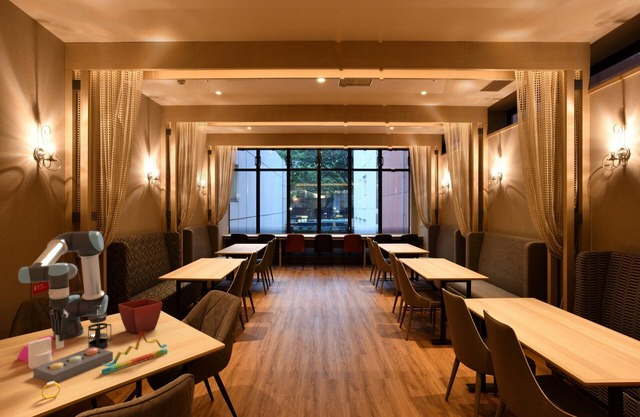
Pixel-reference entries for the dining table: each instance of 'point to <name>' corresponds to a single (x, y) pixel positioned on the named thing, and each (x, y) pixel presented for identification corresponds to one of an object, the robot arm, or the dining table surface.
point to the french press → (98, 331)
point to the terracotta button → (91, 351)
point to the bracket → (24, 351)
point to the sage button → (74, 359)
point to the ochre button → (56, 366)
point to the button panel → (72, 365)
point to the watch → (50, 385)
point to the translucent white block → (39, 352)
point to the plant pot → (140, 314)
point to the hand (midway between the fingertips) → (59, 347)
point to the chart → (136, 360)
